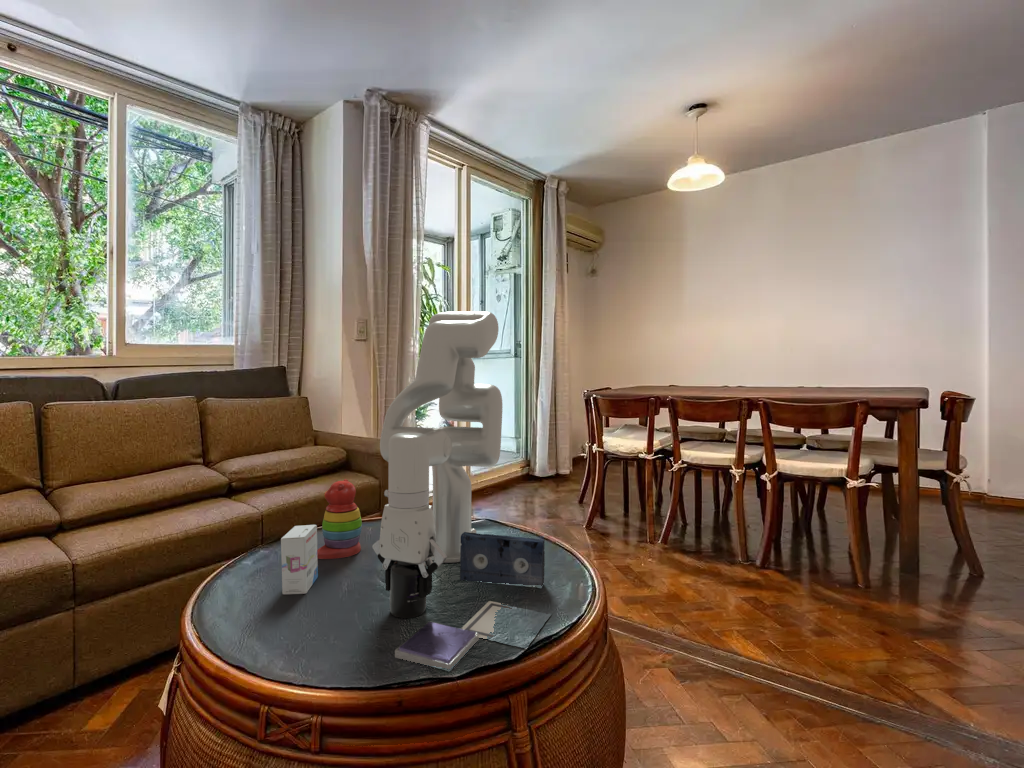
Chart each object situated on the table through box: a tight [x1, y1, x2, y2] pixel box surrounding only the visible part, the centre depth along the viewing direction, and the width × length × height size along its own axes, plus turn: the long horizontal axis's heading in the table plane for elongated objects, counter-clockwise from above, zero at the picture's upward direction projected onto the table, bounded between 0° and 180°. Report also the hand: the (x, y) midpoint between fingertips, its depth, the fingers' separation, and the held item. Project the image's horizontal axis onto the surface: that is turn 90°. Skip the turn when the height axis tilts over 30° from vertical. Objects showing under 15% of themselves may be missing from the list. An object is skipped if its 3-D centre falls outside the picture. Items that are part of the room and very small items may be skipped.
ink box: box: [280, 524, 319, 595], centre depth 107 cm, size 9×5×12 cm, turn 5°
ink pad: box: [394, 621, 480, 669], centre depth 84 cm, size 10×10×2 cm
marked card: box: [460, 600, 512, 640], centre depth 92 cm, size 13×13×1 cm
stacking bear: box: [317, 478, 363, 560], centre depth 127 cm, size 11×10×18 cm
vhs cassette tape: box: [459, 532, 546, 586], centre depth 110 cm, size 18×3×10 cm, turn 76°
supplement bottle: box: [389, 561, 427, 619], centre depth 96 cm, size 7×7×12 cm
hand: (408, 590), depth 96 cm, fingers closed on supplement bottle, 6 cm apart
